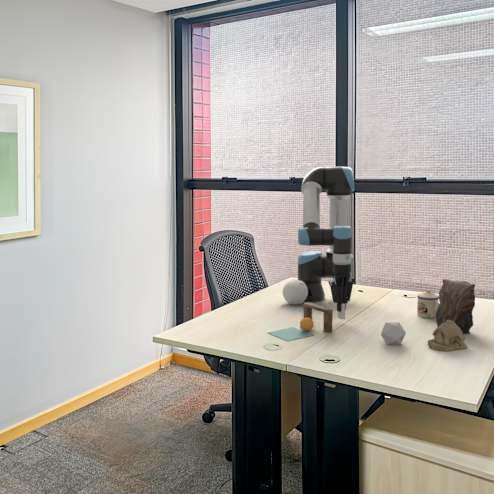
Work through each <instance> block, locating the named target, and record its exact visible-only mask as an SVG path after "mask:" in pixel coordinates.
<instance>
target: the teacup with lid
mask: <svg viewBox="0 0 494 494" xmlns="http://www.w3.org/2000/svg"><path fill="white" fill-rule="evenodd" d="M439 304H440V302H439V294H437V293H434V292H433V291H431V289H428V288H427V289H425V291H423V292H419V293H418V294H417V306H416V307H417V311H416V312H417V313H416V314H417V316H418V317H420V318H424V319H434V318H435V319H436V311H437V308H438V306H439Z"/></svg>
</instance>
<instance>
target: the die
mask: <svg viewBox="0 0 494 494" xmlns="http://www.w3.org/2000/svg"><path fill="white" fill-rule="evenodd" d="M406 333H407V332H406V330H405V329H404V327H403V326H402V324H401V323H400V322H399V321H397V322H396V321H395V322H394V321H392V322H390V321H389V322H388V321H387V322H384V325H383V328H382V329H381V332H380V336H381V337H382V338H383V340H384V342H385V344H386V345H389V346H390V345H391V346H393V345H394V346H395V345H397V346H399V345H400V346H401V345H402V344H403V340H404V339H405V337H406Z"/></svg>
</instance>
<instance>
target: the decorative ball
mask: <svg viewBox="0 0 494 494" xmlns="http://www.w3.org/2000/svg"><path fill="white" fill-rule="evenodd" d="M307 295H308V288H307V286H306V284H305V283H304V282H303V281H300V280H298V279H291V280H289V281H286V283H285V284H284V286H283V288H282V296H283V299H284V300H285V301H286V302H287V303H288V304H290V305H293V306H296V305H301V304H302V303H305V300H306V298H307Z"/></svg>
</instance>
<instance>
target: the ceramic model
mask: <svg viewBox="0 0 494 494" xmlns="http://www.w3.org/2000/svg"><path fill="white" fill-rule="evenodd" d="M432 336H433V338H432V339H428V340H427V347H428V348H430V349H433V350H435V351H441V352H442V351H444V352H447V351H448V352H449V351H454V350H464V349H467V348H468V345H467V344H466V343H465V340H466V337H465V336H464V334H463V332H462V331H461V329H460V328H459V327H458V326H457V325H456V324H455V322H454V321H451V320H447V321H446V322H445V323H442V324H441V325H440V326H439V327H436V328H435V330H433V332H432Z"/></svg>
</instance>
